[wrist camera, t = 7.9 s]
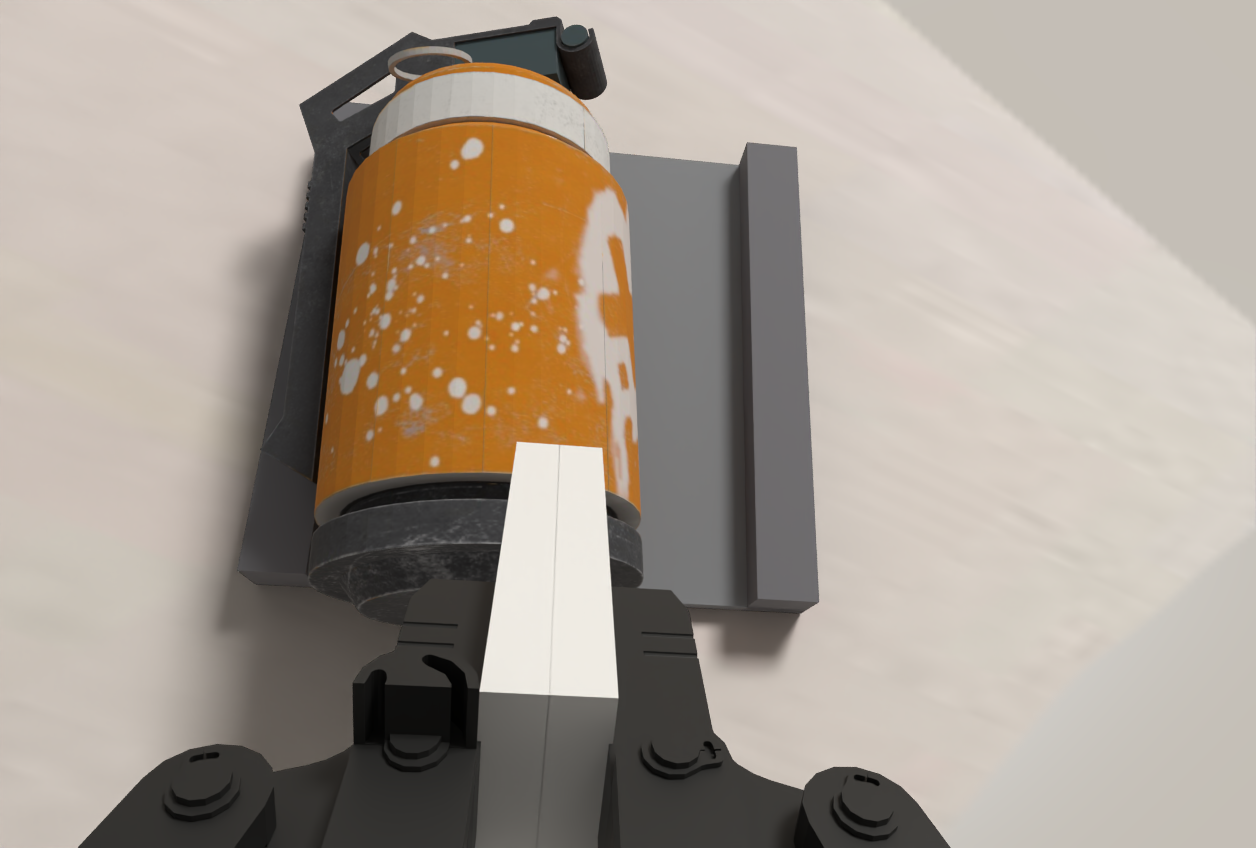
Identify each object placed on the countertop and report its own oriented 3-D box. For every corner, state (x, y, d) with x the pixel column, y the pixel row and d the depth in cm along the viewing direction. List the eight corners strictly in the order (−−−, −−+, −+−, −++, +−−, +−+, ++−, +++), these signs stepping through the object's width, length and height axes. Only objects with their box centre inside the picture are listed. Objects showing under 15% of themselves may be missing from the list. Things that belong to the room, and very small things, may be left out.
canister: (612, 562, 20) (594, -90, 27) (150, 595, 21) (255, -31, 29) (664, 626, 28) (639, 113, 35) (328, 646, 29) (373, 151, 37)
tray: (255, 584, 29) (237, 570, 27) (341, 136, 36) (331, 100, 34) (801, 613, 30) (819, 602, 29) (783, 179, 37) (796, 147, 35)
